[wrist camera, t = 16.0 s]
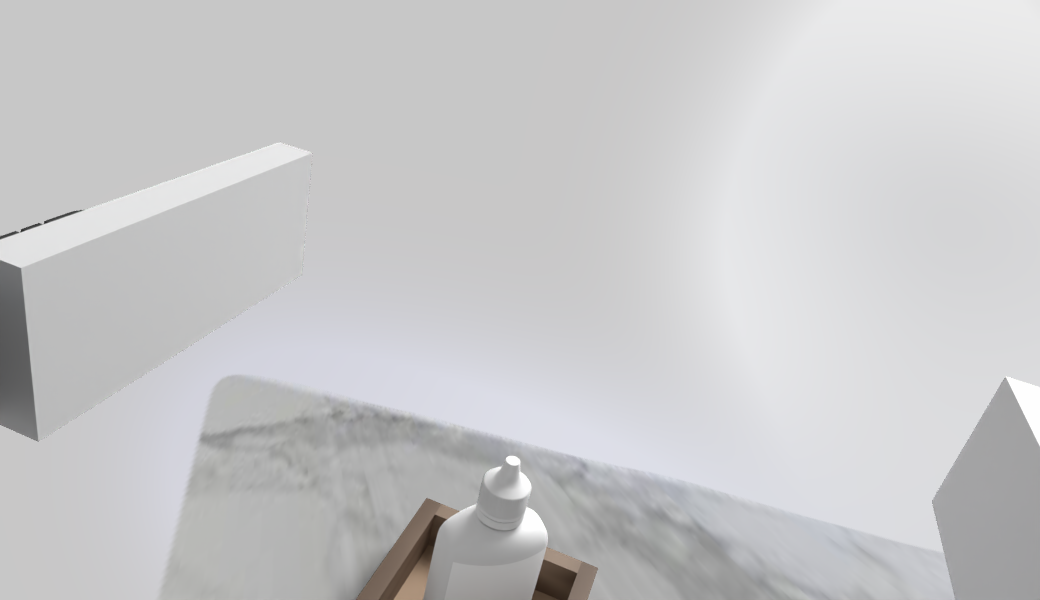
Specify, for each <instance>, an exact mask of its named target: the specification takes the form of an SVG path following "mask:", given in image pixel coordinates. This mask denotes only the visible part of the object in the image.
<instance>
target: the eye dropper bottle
mask: <svg viewBox="0 0 1040 600" xmlns="http://www.w3.org/2000/svg"><path fill="white" fill-rule="evenodd" d="M530 493H531V484H530V482H529V480H528V478H527V477H526V476H525V475H524V474H523V473H521V472H520V460H519V459H518V458H517V457H515V456H508V457H507V458H506V460H505V462H504V464H503V466H502V467H497V468H493V469H491V470H489V471H488V472H487V473H485V475H484V476H483V480H482V484H481V488H480V492H479V497H478V501H477V504H475V505H473V506H470V507H468V508H466V509H464V510H462V511H460V512H458V513H456V514H455V515H453V516H451V517H450V518H449V519H447V520H446V521H445V522H444V523H443V524H442V525H441V527H440V528H439V531H438V534H437V538H436V542H435V546H434V551H433V555H432V560H431V564H430V569H429V574H428V578H427V583H426V588H425V592H424V597H423V600H531V599H532V596H533V593H534V589H535V586H536V583H537V579H538V576H539V572H540V569H541V566H542V562H543V559H544V555H545V551H546V547H547V542H548V536H547V531H546V529H545V526H544V524H543V522H542V521H541V519H540V517H539V516H538V514H537V513H536V512H535V511H533V510H531V509H529V508H527V504H528V500H529V497H530Z"/></svg>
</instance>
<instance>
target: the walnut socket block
mask: <svg viewBox="0 0 1040 600" xmlns="http://www.w3.org/2000/svg"><path fill="white" fill-rule="evenodd" d="M458 512H460V511H457V510H455V509H453V508H450V507H448V506H445V505H443V504H440V503H438V502H435V501H433V500H431V499H428V498H426V500H425V501H424V503H423V504H422V506H421V507H420V508H419V510H418V511H417V513H416V514H415V516H414V517H413V518H412V520H411V521H410V523H409V524H408V526H407V527H406V529H405V530H404V531H403V533H402V534H401V536H400V537H399V539H398V540H397V541H396V543H395V544H394V546H393V547H392V549H391V550H390V551H389V553H388V554H387V556H386V557H385V559H384V560H383V561H382V563H381V564H380V566H379V567H378V569H377V570H376V572H375V573H374V574H373V576H372V577H371V579H370V580H369V582H368V583H367V584H366V586H365V587H364V589H363V590H362V592H361V593H360V594H359V596H358V597H357V599H356V600H423V597H424V592H425V588H426V583H427V578H428V574H429V569H430V564H431V560H432V555H433V551H434V546H435V542H436V538H437V534H438V531H439V528H440V527H441V525H442V524H443V523H444V522H445V521H446V520H447V519H449V518H450V517H451V516H453V515H455V514H456V513H458ZM597 570H598V568H597V567H594V566H592V565H590V564H587V563H585V562H582V561H580V560H577V559H575V558H572V557H570V556H567V555H565V554H563V553H560V552H558V551H555V550H553V549H550V548H548V547H546V551H545V555H544V559H543V562H542V566H541V569H540V572H539V576H538V579H537V583H536V586H535V589H534V593H533V596H532V599H531V600H587V599H588V596H589V593H590V590H591V587H592V584H593V582H594V579H595V576H596V573H597Z"/></svg>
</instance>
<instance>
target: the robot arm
mask: <svg viewBox="0 0 1040 600" xmlns="http://www.w3.org/2000/svg"><path fill="white" fill-rule="evenodd" d="M312 154H313V153H311V152H308V151H305V150H302V149H299V148H296V147H293V146H289V145H287V144H284V143H280V142H278V143H275V144H273V145H270V146H267V147H264V148H261V149H258V150H255V151H252V152H249V153H247V154H244V155H241V156H238V157H235V158H233V159H229V160H227V161H224V162H221V163H218V164H215V165H212V166H209V167H207V168H204V169H201V170H198V171H195V172H192V173H190V174H186V175H184V176H181V177H178V178H175V179H172V180H170V181H166V182H164V183H161V184H158V185H155V186H152V187H149V188H146V189H144V190H141V191H138V192H135V193H132V194H129V195H126V196H124V197H121V198H118V199H115V200H112V201H109V202H106V203H103V204H101V205H98V206H95V207H92V208H89V209H86V210H80V211H73V212H70V213H67V214H64V215H61V216H58V217H56V218H52V219H49V220H47V221H44V224H40V223H38V224H35V225H32V226H29V227H26V228H24V229H21V232H20V233H19V232H16V231H15V232H12V233H9V234H6V235H3V236H0V425H2V426H4V427H6V428H9V429H11V430H13V431H16V432H18V433H20V434H22V435H25V436H27V437H29V438H31V439H33V440H36V441H40V440H42V439H43V438H45V437H46V436H48V435H50V434H51V433H53V432H55V431H56V430H58V429H59V428H61V427H62V426H64V425H66V424H67V423H69V422H70V421H72V420H74V419H75V418H77V417H78V416H80V415H81V414H83V413H85V412H86V411H88V410H89V409H91V408H93V407H94V406H96V405H97V404H99V403H101V402H102V401H104V400H105V399H107V398H108V397H110V396H112V395H113V394H115V393H116V392H118V391H120V390H121V389H123V388H124V387H126V386H127V385H129V384H130V383H132V382H134V381H135V380H137V379H138V378H140V377H142V376H143V375H145V374H146V373H148V372H149V371H151V370H153V369H154V368H156V367H158V366H159V365H161V364H162V363H164V362H165V361H167V360H168V359H170V358H171V357H173V356H175V355H177V354H178V353H180V352H181V351H183V350H184V349H186V348H188V347H189V346H191V345H192V344H194V343H195V342H197V341H199V340H200V339H202V338H203V337H205V336H207V335H208V334H210V333H211V332H213V331H214V330H216V329H218V328H219V327H221V326H222V325H224V324H225V323H227V322H229V321H230V320H231V319H233V318H235V317H236V316H238V315H240V314H241V313H243V312H245V311H246V310H248V309H249V308H251V307H252V306H254V305H256V304H257V303H259V302H260V301H262V300H264V299H265V298H267V297H268V296H270V295H271V294H273V293H275V292H276V291H278V290H279V289H281V288H282V287H284V286H286V285H287V284H289V283H291V282H292V281H294V280H295V279H297V278H298V277H300V276H302V271H303V259H304V248H305V236H306V224H307V212H308V200H309V189H310V177H311V165H312ZM932 504H933V508H934V512H935V516H936V521H937V525H938V529H939V533H940V537H941V541H942V546H943V550H944V554H945V558H946V562H947V567H948V571H949V575H950V579H951V583H952V587H953V592H954V596H955V600H1040V387H1037V386H1034V385H1031V384H1028V383H1025V382H1022V381H1019V380H1015V379H1012V378H1009V377H1005V378H1004V380H1003V382H1002V383H1001V385H1000V387H999V388H998V390H997V392H996V394H995V395H994V397H993V399H992V400H991V402H990V404H989V405H988V407H987V409H986V410H985V412H984V414H983V415H982V417H981V419H980V421H979V422H978V424H977V426H976V427H975V429H974V431H973V433H972V434H971V436H970V438H969V439H968V441H967V443H966V444H965V446H964V448H963V449H962V451H961V453H960V454H959V456H958V458H957V460H956V461H955V463H954V465H953V466H952V468H951V470H950V471H949V473H948V475H947V476H946V478H945V480H944V482H943V483H942V485H941V487H940V488H939V490H938V492H937V493H936V495H935V497H934V499H933V500H932Z"/></svg>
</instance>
